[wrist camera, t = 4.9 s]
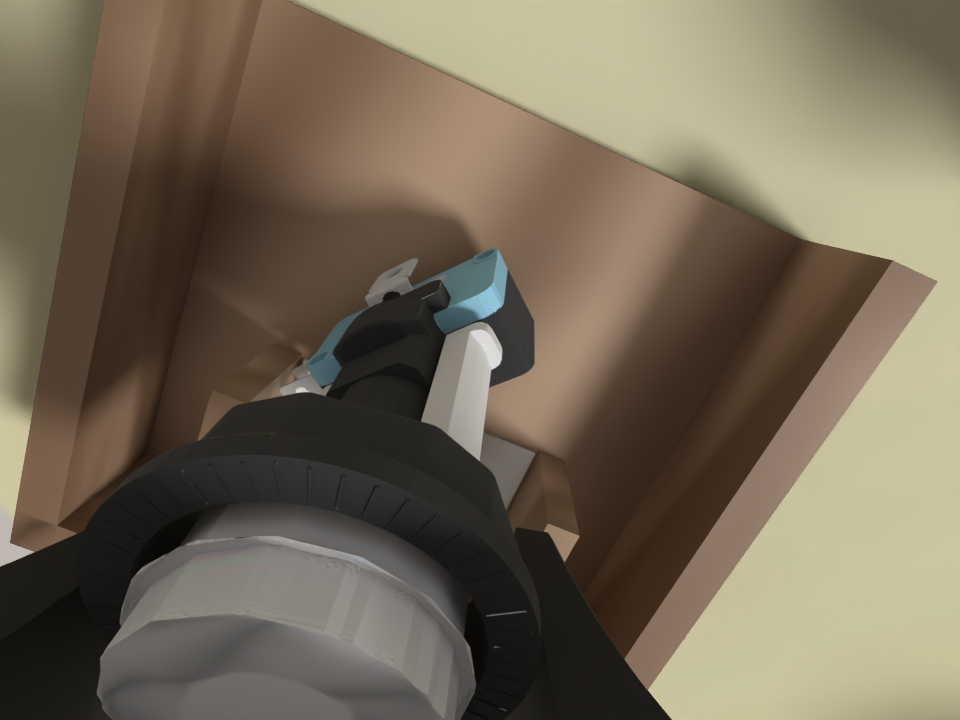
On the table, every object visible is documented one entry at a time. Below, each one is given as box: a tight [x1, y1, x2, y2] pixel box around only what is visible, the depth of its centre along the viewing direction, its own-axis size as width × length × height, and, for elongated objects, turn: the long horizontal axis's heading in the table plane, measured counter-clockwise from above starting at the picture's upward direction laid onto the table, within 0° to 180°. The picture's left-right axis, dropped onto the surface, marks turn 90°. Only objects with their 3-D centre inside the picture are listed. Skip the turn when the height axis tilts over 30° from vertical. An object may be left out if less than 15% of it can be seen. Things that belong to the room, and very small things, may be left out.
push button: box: [76, 248, 541, 720], centre depth 10 cm, size 7×5×10 cm
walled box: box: [10, 0, 938, 690], centre depth 14 cm, size 16×14×4 cm
